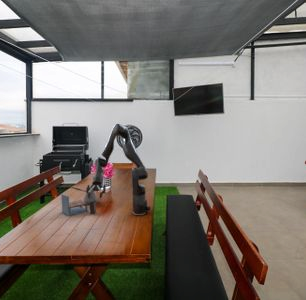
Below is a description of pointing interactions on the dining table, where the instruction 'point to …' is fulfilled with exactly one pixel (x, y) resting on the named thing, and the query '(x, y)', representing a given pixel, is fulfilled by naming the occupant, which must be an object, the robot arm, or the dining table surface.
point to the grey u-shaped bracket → (72, 206)
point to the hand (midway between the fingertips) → (94, 197)
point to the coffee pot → (86, 199)
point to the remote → (92, 206)
